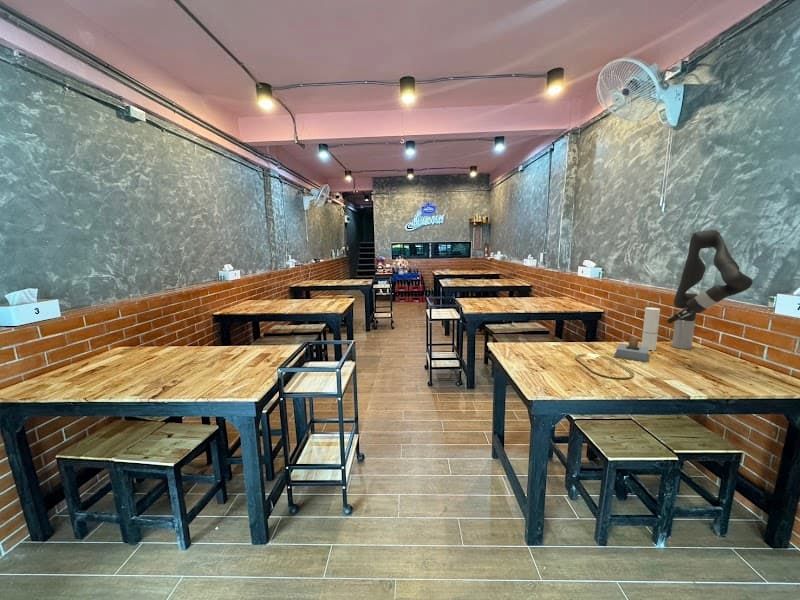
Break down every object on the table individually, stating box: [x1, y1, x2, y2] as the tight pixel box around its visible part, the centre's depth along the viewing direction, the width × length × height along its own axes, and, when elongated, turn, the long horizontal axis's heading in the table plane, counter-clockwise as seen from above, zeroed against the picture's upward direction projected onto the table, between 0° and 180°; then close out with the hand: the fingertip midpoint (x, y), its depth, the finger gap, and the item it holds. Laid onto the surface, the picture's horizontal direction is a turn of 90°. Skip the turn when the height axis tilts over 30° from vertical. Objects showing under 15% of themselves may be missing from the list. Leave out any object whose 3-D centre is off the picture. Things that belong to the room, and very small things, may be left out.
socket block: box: [613, 343, 651, 363], centre depth 189 cm, size 16×16×5 cm
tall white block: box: [640, 307, 661, 351], centre depth 200 cm, size 7×7×25 cm
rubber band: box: [574, 353, 635, 380], centre depth 174 cm, size 19×35×2 cm, turn 176°
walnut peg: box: [628, 337, 639, 350], centre depth 189 cm, size 4×4×10 cm
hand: (670, 320), depth 178 cm, fingers open, 8 cm apart
